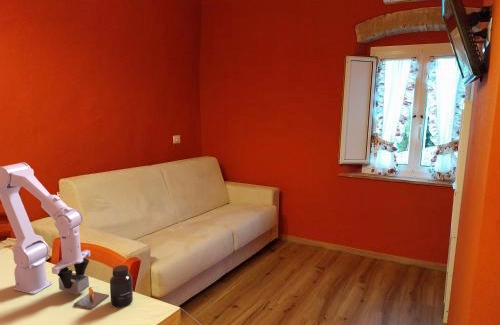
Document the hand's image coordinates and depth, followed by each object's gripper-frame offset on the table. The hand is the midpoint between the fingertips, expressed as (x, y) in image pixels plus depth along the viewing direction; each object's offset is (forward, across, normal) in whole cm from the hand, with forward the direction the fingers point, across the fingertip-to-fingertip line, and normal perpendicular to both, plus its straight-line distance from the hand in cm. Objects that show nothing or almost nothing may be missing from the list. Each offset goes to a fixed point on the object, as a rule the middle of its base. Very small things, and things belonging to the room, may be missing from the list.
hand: (73, 283), depth 119 cm
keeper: (+3, -2, -9) cm, 10 cm away
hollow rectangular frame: (+2, 0, 0) cm, 2 cm away
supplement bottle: (+3, 0, -19) cm, 19 cm away
